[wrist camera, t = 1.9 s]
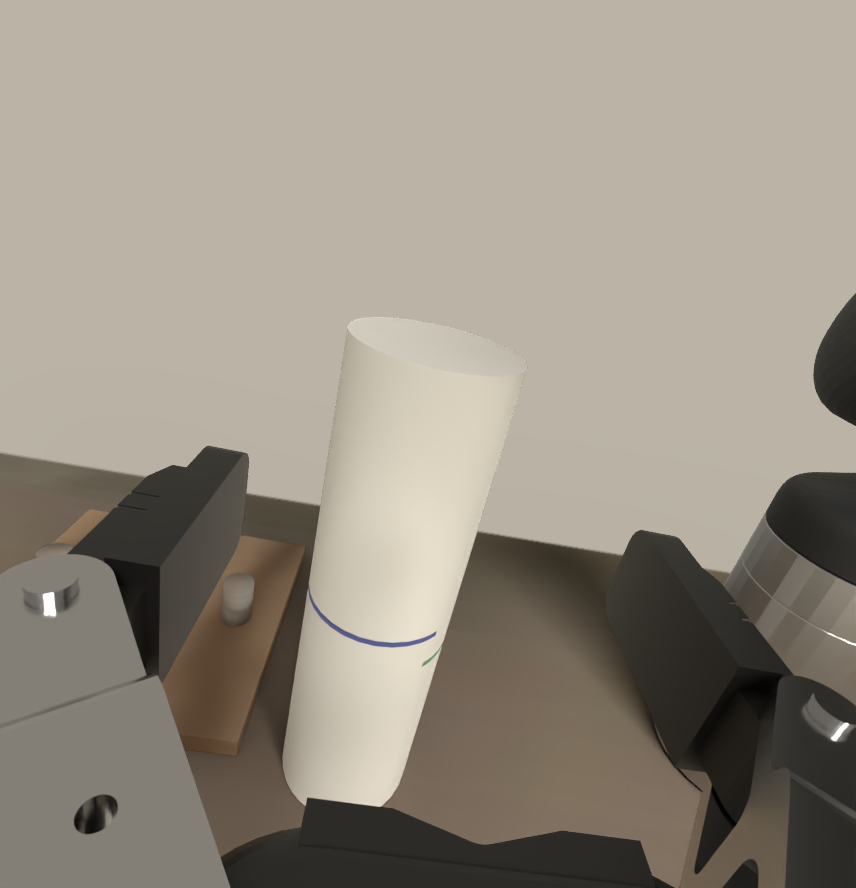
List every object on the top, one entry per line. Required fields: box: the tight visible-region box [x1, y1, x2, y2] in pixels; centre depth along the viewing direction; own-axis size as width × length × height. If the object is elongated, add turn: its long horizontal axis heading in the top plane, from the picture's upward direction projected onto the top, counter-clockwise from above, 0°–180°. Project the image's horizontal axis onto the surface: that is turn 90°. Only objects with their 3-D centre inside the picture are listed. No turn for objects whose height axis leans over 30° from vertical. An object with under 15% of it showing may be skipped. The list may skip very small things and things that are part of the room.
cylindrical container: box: [282, 317, 528, 807], centre depth 25 cm, size 7×7×25 cm
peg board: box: [36, 509, 306, 756], centre depth 36 cm, size 18×18×4 cm
